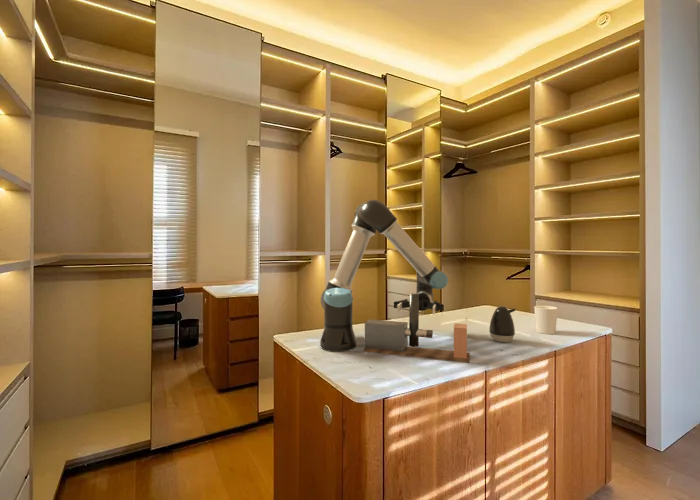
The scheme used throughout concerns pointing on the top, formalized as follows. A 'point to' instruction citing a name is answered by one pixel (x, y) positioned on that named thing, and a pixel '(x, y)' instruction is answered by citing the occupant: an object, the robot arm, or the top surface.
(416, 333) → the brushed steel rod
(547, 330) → the candle holder
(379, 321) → the box on wooden plank
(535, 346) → the top surface
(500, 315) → the pump dispenser
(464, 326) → the socket
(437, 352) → the base board
